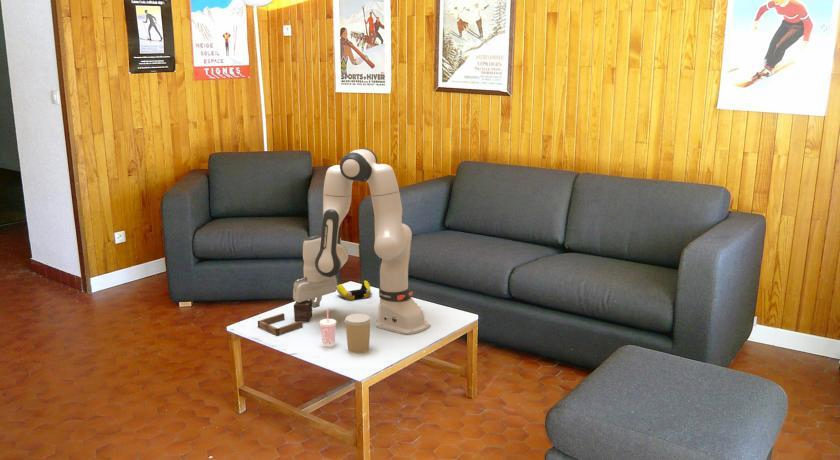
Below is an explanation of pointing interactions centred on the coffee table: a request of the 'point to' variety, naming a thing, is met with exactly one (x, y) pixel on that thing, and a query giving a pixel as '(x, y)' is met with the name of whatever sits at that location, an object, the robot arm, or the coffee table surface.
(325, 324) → the beverage cup
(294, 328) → the frame
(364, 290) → the gaming controller
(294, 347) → the coffee table surface
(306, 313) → the box
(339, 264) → the robot arm
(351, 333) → the coffee cup
